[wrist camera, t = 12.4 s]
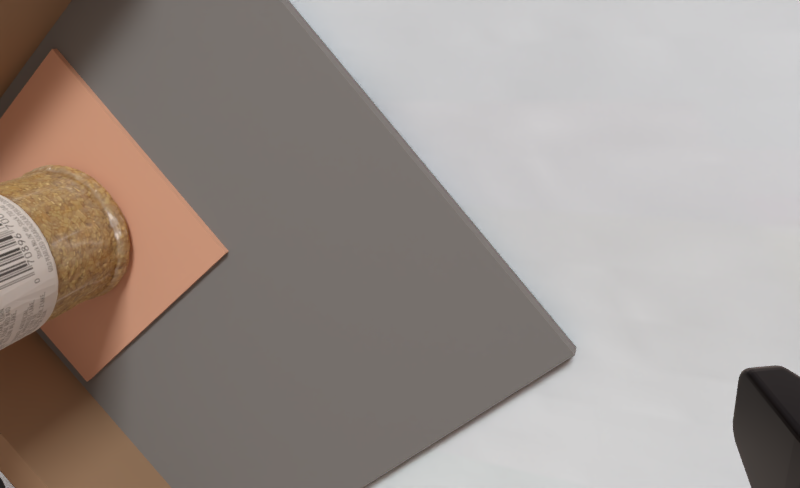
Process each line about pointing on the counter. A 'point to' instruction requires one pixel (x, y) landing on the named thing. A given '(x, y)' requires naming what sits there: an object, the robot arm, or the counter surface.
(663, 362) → the counter surface
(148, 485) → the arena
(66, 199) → the sprinkles bottle
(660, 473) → the counter surface
